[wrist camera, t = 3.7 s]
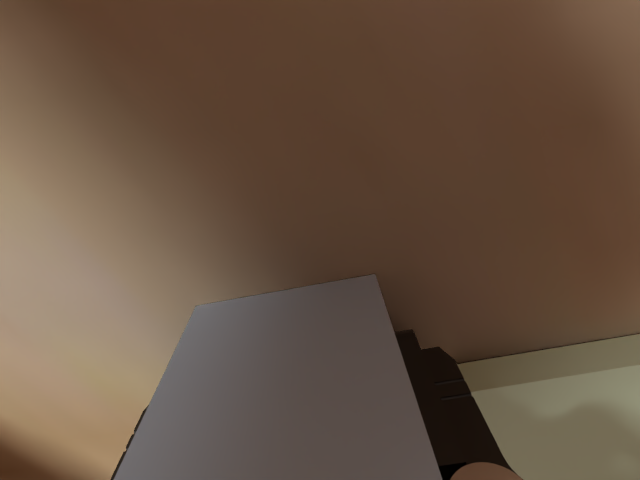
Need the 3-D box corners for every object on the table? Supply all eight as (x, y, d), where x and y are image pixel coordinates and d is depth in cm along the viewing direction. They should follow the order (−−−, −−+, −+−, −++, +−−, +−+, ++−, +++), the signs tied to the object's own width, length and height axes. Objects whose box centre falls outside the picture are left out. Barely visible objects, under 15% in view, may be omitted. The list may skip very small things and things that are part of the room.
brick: (195, 305, 10) (50, 614, 4) (375, 274, 9) (468, 556, 4) (243, 432, 11) (184, 765, 6) (395, 408, 11) (478, 731, 6)
